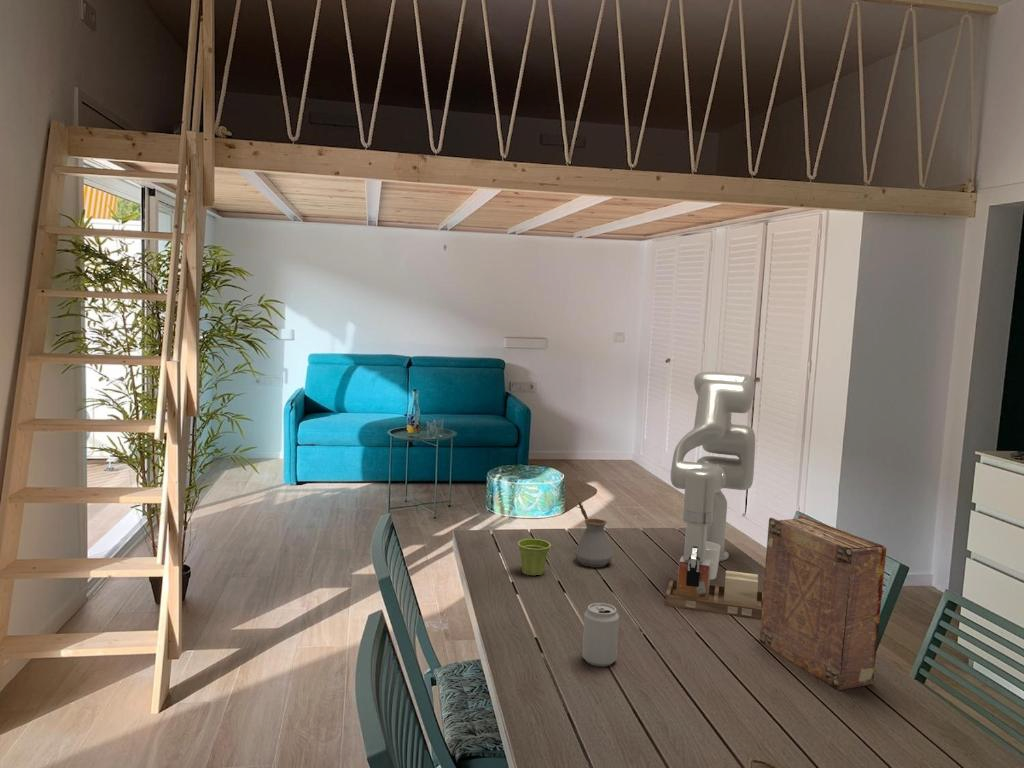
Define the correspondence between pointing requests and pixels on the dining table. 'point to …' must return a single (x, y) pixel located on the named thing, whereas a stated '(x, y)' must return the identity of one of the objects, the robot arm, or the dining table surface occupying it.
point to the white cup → (712, 557)
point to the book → (823, 600)
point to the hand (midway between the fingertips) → (693, 579)
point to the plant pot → (533, 555)
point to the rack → (713, 602)
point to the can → (600, 634)
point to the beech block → (741, 588)
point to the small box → (704, 580)
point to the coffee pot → (593, 543)
